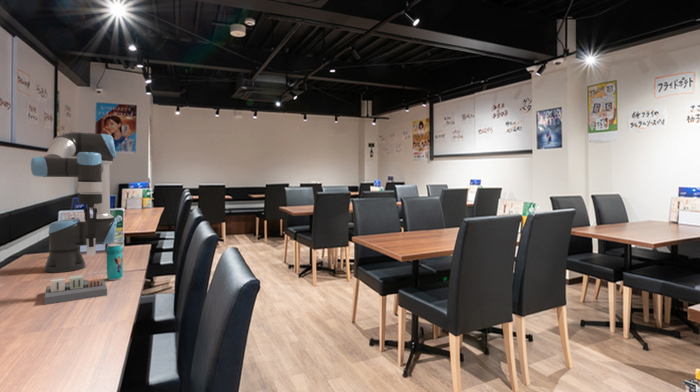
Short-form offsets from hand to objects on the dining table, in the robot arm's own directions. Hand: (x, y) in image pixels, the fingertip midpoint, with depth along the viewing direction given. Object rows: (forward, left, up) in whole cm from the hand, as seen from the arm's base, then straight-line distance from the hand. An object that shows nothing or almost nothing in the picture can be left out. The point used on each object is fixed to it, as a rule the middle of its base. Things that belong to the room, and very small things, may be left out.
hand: (91, 254), depth 140 cm
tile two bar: (0, -5, -12) cm, 13 cm away
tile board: (0, -5, -14) cm, 15 cm away
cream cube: (0, -10, -12) cm, 16 cm away
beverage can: (-15, +9, -15) cm, 23 cm away
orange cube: (0, +1, -13) cm, 13 cm away
